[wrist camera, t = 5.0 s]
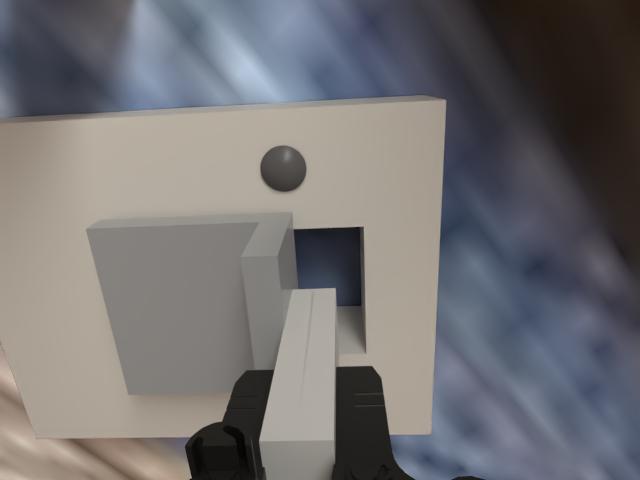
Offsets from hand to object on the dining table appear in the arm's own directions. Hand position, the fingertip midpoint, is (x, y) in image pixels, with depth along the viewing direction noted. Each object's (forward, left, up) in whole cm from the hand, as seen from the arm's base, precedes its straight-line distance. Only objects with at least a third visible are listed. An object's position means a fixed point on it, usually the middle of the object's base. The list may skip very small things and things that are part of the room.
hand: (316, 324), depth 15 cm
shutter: (+4, 0, -2) cm, 5 cm away
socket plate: (+4, 0, -6) cm, 7 cm away
